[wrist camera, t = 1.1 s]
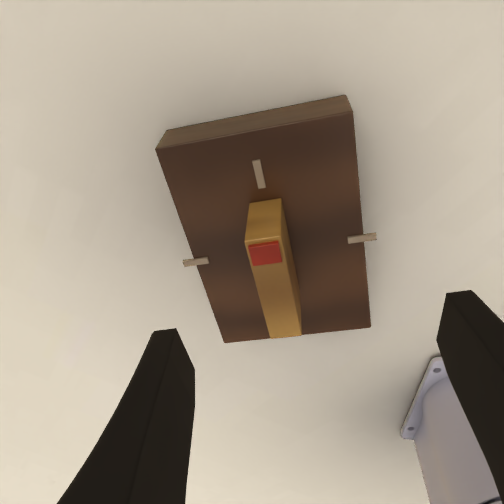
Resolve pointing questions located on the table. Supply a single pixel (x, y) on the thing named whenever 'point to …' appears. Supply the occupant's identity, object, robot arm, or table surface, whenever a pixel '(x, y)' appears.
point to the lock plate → (294, 204)
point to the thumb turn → (273, 267)
